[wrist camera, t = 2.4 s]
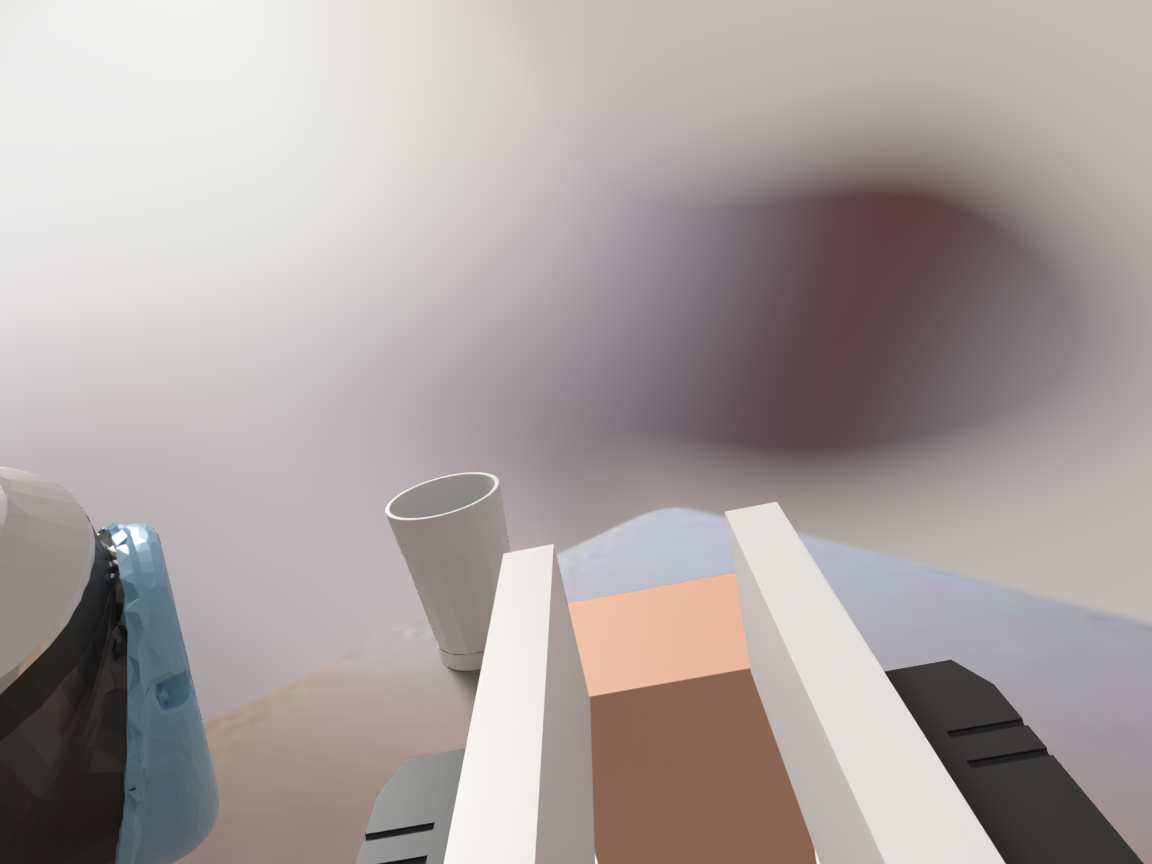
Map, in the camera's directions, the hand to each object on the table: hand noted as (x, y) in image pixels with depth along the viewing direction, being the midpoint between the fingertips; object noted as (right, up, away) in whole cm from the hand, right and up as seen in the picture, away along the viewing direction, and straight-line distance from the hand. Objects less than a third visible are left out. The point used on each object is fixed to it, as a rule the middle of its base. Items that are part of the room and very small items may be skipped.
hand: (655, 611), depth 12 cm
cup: (-8, -13, +47) cm, 50 cm away
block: (+5, -17, +19) cm, 26 cm away
